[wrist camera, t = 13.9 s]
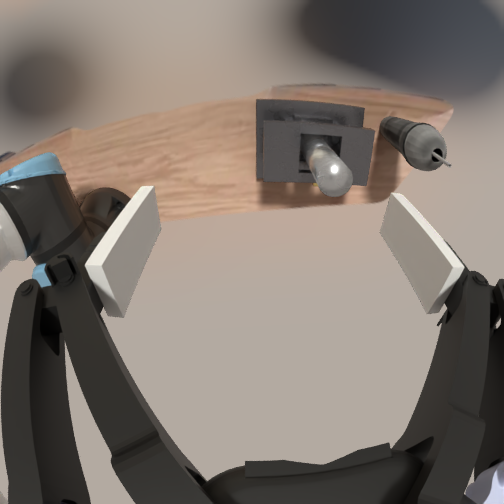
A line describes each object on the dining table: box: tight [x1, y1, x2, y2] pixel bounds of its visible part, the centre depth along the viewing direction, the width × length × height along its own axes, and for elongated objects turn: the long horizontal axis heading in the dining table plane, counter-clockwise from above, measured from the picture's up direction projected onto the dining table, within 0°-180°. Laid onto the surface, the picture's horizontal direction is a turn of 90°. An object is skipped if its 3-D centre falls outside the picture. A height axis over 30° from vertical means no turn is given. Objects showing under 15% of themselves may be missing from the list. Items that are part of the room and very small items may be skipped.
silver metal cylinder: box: [300, 133, 353, 197], centre depth 35 cm, size 4×4×18 cm
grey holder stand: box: [257, 99, 375, 186], centre depth 40 cm, size 18×14×8 cm
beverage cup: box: [380, 116, 451, 171], centre depth 32 cm, size 7×7×20 cm
